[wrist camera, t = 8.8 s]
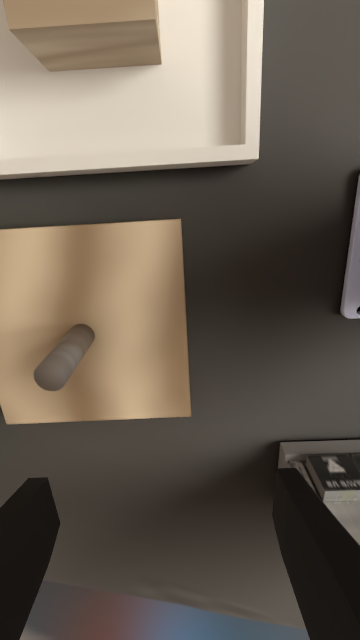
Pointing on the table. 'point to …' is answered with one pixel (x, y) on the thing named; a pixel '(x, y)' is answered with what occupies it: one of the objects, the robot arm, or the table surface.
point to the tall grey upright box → (330, 475)
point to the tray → (139, 100)
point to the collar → (87, 32)
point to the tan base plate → (93, 322)
